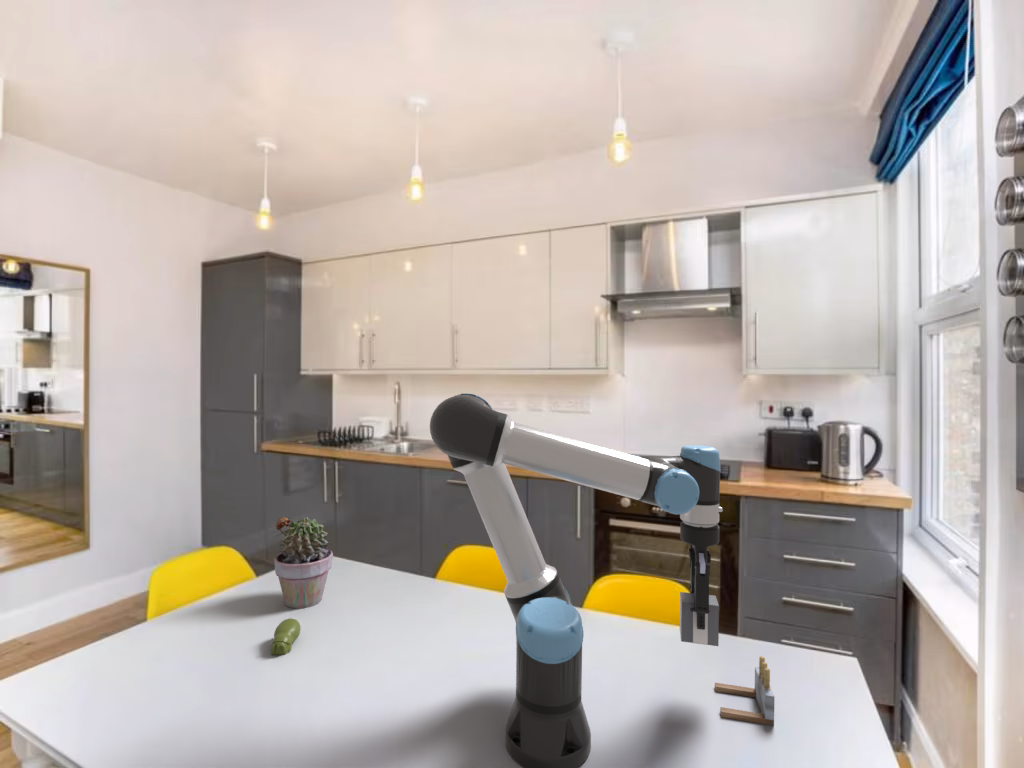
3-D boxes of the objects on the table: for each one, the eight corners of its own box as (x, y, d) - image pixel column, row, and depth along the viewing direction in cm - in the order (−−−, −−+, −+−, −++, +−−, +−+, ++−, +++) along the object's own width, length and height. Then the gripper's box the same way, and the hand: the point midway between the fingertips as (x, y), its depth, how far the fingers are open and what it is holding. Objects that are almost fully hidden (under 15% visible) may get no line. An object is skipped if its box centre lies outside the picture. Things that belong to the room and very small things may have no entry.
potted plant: (354, 595, 153) (355, 511, 153) (296, 621, 136) (297, 526, 136) (315, 582, 162) (316, 502, 162) (256, 604, 146) (257, 516, 146)
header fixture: (773, 725, 97) (774, 678, 97) (721, 716, 100) (722, 670, 100) (762, 694, 107) (763, 651, 107) (714, 687, 109) (715, 644, 109)
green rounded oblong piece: (303, 614, 128) (289, 640, 119) (304, 633, 129) (290, 661, 119) (280, 614, 128) (264, 641, 118) (281, 633, 129) (265, 661, 119)
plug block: (718, 646, 102) (718, 605, 102) (681, 641, 104) (681, 601, 104) (715, 634, 107) (715, 595, 107) (679, 629, 109) (680, 591, 108)
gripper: (725, 536, 95) (724, 662, 96) (713, 512, 113) (713, 618, 113) (683, 533, 97) (682, 656, 97) (677, 510, 115) (677, 614, 115)
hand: (698, 636), depth 105 cm, fingers closed on plug block, 5 cm apart
